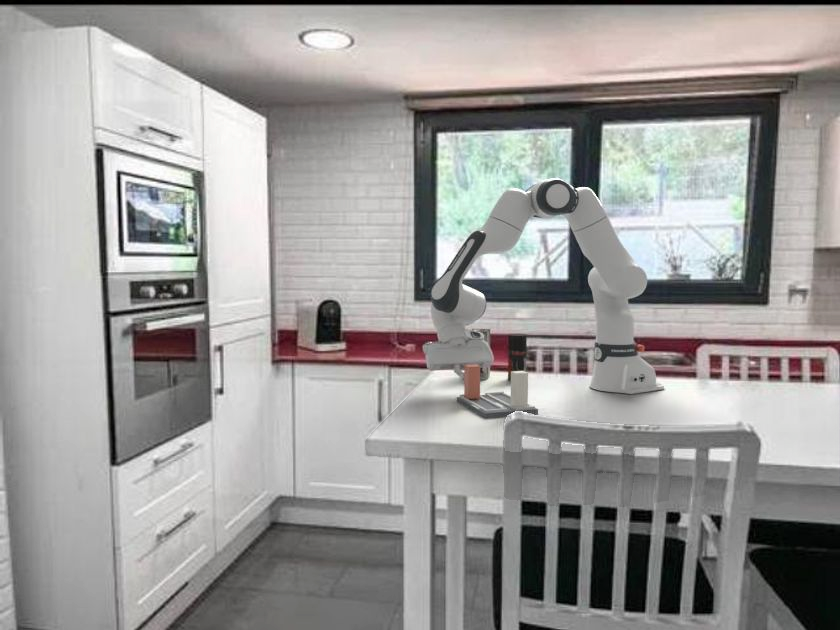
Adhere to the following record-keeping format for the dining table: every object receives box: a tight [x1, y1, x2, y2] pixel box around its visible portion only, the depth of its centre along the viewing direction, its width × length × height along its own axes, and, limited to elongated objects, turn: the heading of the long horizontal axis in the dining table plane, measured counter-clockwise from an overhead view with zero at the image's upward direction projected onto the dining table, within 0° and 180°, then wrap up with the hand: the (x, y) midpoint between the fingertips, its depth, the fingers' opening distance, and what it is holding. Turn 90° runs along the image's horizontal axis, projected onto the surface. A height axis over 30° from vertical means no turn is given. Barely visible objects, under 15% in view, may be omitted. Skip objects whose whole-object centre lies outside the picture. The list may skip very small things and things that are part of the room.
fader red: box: [463, 364, 481, 399], centre depth 179 cm, size 4×3×9 cm
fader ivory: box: [510, 371, 529, 407], centre depth 169 cm, size 4×3×9 cm
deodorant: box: [507, 333, 528, 381], centre depth 212 cm, size 6×6×15 cm
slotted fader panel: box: [456, 391, 539, 419], centre depth 174 cm, size 15×20×2 cm
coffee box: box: [471, 328, 491, 381], centre depth 216 cm, size 9×6×16 cm
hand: (466, 379), depth 183 cm, fingers closed
